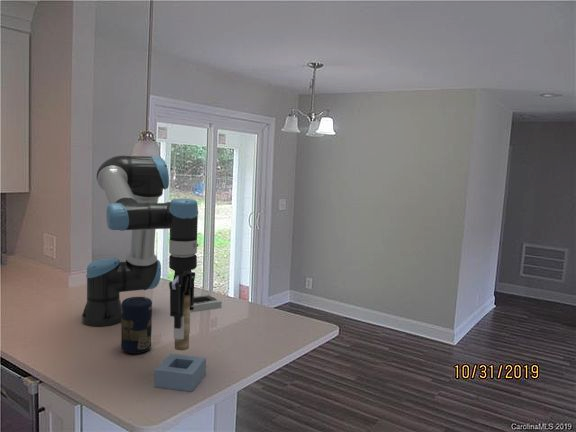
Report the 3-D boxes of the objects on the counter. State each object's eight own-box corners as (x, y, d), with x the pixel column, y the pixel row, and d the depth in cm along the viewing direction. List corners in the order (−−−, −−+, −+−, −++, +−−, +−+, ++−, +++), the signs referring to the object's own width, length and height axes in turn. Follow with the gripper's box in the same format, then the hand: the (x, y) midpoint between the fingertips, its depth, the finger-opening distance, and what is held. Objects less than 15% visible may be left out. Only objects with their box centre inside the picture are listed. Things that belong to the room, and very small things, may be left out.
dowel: (172, 349, 128) (172, 297, 127) (177, 344, 132) (178, 293, 131) (185, 351, 128) (186, 299, 126) (191, 345, 132) (191, 295, 130)
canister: (125, 343, 155) (125, 292, 153) (154, 343, 156) (154, 292, 153) (117, 355, 145) (117, 300, 143) (147, 355, 146) (148, 301, 144)
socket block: (154, 386, 127) (154, 369, 126) (170, 369, 138) (170, 353, 137) (192, 391, 125) (192, 374, 125) (205, 373, 136) (205, 357, 135)
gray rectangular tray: (182, 306, 186) (170, 293, 200) (182, 317, 187) (169, 303, 201) (221, 301, 196) (207, 288, 209) (220, 311, 196) (206, 298, 210)
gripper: (184, 261, 118) (182, 348, 121) (206, 250, 135) (204, 326, 137) (157, 259, 119) (156, 345, 122) (182, 248, 136) (181, 324, 138)
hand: (181, 335), depth 130 cm, fingers closed on dowel, 4 cm apart
